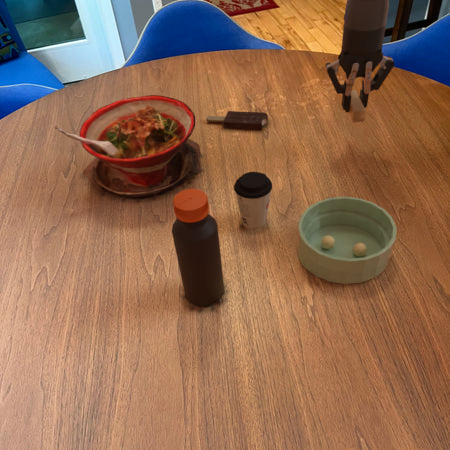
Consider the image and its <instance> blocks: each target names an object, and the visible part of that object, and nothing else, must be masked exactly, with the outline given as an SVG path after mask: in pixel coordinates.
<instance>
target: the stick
mask: <svg viewBox="0 0 450 450" xmlns="http://www.w3.org/2000/svg"><path fill="white" fill-rule="evenodd" d="M359 95H360V94H359V93H358V90H357V89H355V88H354V89H352V91H351V103H350V110H349V112H347V113H348V115H349V118H350V120H351V122H352V123H361V122H365V118H366V111H367V110H366V108H364V106H363V104H362V102H361V100H360V97H359Z"/></svg>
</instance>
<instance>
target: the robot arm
mask: <svg viewBox="0 0 450 450" xmlns="http://www.w3.org/2000/svg"><path fill="white" fill-rule="evenodd" d="M389 6H390V0H346V3H345V9H344V14H343V29H342V39H341V40H342V41H341V51H340V52H339V55H338V57H337V59H336V60H334V61H333V62H326V63H325V65H324V67H325V71H326V73H327V75H328V77H329V79H330V81H331V84H332V86H333V89H334V90H335V92H336V94H337V95H342V96H341V108H342V110H343V111H344V112H345V113H348V112H349V110H350V103H351V91H352V90H353V86H354V85H355V81H356V79H358V78H361V89H359V94H358V95H359V97H360V100H361V102H362V104H363V106H364V108H365V109H367V107H368V103H369V96H370V93H371V92H372V91H379V90H380V88H381V86H382V85H383V84H384V82H385V80H386V79H387V77H388V76H389V75H390V73H391V71H392V70H393V68H394V67H395V61H394V59H393V58H392V57H391V55H388V56H387V55H384V52H383V46H384V39H385V32H386V27H387V21H388V14H389ZM378 66H379V68H378V69H377V71H376V72H375V74H374V75H373V77H372V74H373V72H374V71H375V69H376V68H377V67H378ZM339 68H341V69H342V71H343V72H344V76H343V77H344V81H343V84H341V83H340V80H339V78H338V77H337V75H338V73H339Z"/></svg>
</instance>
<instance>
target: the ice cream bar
mask: <svg viewBox="0 0 450 450" xmlns="http://www.w3.org/2000/svg"><path fill="white" fill-rule="evenodd" d="M205 119H206V120H205V121H207V122H212V123H213V122H214V123H222V125H223V128H224V129H237V130H255V131H261V130H263V127H264V126H265V125H268V123H269V122H268V121H269V114H268V113H267V112H260V111H258V112H257V111H240V110H238V111H237V110H227V113H226V115H225V116H219V115H217V116H216V115H208V116H206V118H205Z"/></svg>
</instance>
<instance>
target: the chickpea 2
mask: <svg viewBox="0 0 450 450" xmlns="http://www.w3.org/2000/svg"><path fill="white" fill-rule="evenodd" d="M366 252H367V247H366V245H365V244H363V243H357V244H355V245H354V247H353V253H354V254H355V255H356V256H358V257H361V256H364V255H365V254H366Z"/></svg>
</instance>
